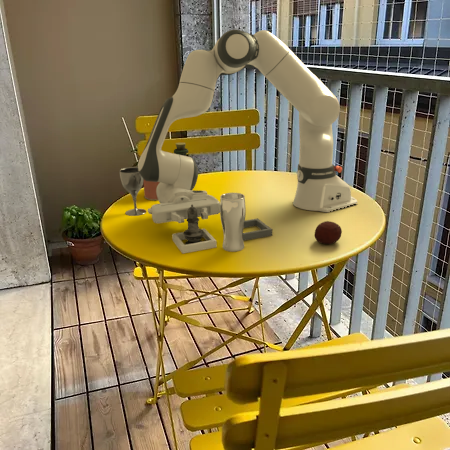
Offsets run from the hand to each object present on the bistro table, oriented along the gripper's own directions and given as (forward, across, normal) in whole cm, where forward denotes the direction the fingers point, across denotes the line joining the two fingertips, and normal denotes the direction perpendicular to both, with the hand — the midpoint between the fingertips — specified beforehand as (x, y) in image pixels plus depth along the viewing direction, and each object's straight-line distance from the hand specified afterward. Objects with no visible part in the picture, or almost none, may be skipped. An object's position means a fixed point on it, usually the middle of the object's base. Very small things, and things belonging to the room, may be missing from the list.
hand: (193, 218), depth 126 cm
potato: (+14, +35, +8) cm, 39 cm away
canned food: (-50, +2, +8) cm, 51 cm away
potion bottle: (-55, +13, +8) cm, 57 cm away
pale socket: (-1, 0, +8) cm, 8 cm away
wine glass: (-35, -10, +8) cm, 37 cm away
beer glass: (+6, +9, +8) cm, 14 cm away
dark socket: (-2, +18, +8) cm, 20 cm away
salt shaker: (-1, 0, +8) cm, 8 cm away
